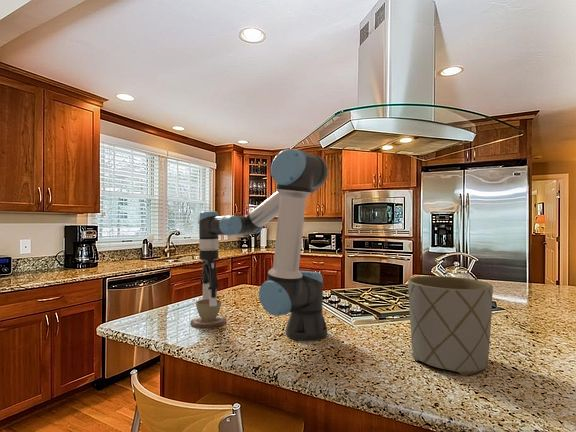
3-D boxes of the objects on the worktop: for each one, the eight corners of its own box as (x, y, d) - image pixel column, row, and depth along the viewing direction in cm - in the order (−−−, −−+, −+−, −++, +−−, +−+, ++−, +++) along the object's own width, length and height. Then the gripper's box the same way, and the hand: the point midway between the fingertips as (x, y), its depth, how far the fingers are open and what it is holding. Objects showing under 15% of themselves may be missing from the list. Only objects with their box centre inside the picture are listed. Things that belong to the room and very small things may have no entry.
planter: (394, 360, 103) (394, 281, 103) (427, 341, 119) (427, 273, 119) (477, 387, 87) (477, 293, 87) (502, 361, 103) (502, 282, 103)
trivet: (229, 325, 136) (230, 322, 136) (193, 330, 130) (193, 326, 130) (221, 316, 149) (221, 313, 149) (188, 320, 143) (188, 316, 143)
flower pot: (218, 323, 134) (218, 304, 134) (192, 323, 134) (192, 304, 134) (223, 316, 144) (223, 298, 144) (199, 315, 144) (199, 298, 144)
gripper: (225, 251, 130) (226, 307, 129) (211, 247, 153) (212, 295, 152) (205, 252, 127) (206, 310, 126) (194, 248, 149) (194, 297, 149)
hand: (209, 302), depth 139 cm, fingers open, 13 cm apart
